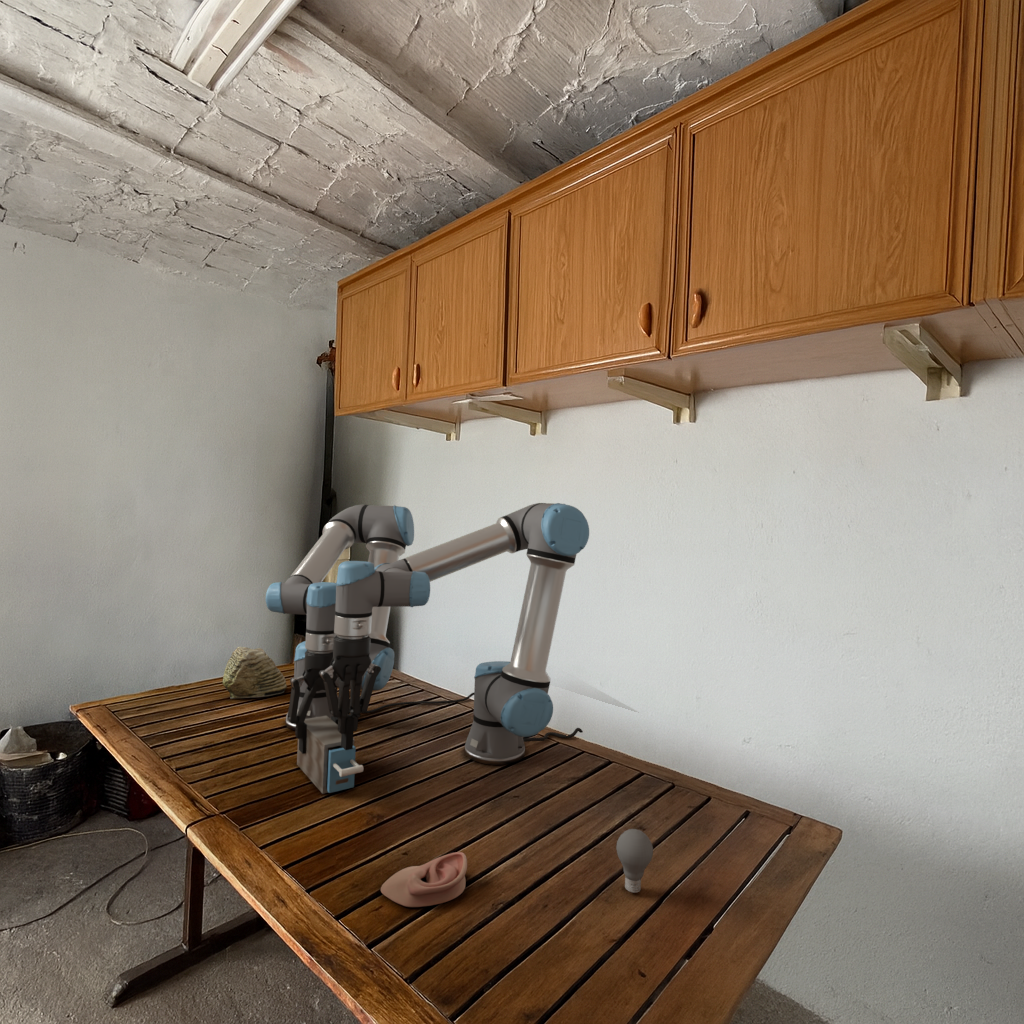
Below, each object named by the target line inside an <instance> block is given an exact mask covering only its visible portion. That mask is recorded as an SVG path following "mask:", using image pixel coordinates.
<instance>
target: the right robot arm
mask: <svg viewBox="0 0 1024 1024" xmlns="http://www.w3.org/2000/svg"><path fill="white" fill-rule="evenodd" d="M589 539H590V525H589V521H588V519H587V518H586V516H585V514H584V513H583V512H582V511H581V510H580V509H579V508H577V507H576V506H573V505H571V504H566V503H559V502H557V503H547V502H536V503H532V504H529V505H527V506H525V507H522V508H520V509H517V510H515V511H513V512H511V513H508V514H506V515H503V516H500V517H498V518H497V520H496V523H493V524H491V525H488V526H485V527H483V528H480V529H478V530H475V531H472V532H469V533H466V534H464V535H462V536H460V537H457V538H454V539H451V540H449V541H446V542H444V543H440V544H438V545H435V546H433V547H430V548H428V549H425V550H422V551H420V552H417V553H415V554H412V555H409V556H406V557H404V558H402V559H401V558H400V559H398V561H395V562H393V563H383V564H380V565H378V566H376V567H375V568H374V564H373V563H372V562H368V561H366V560H365V561H364V560H345V561H342V562H340V564H339V565H338V567H337V577H336V581H335V583H336V608H335V624H334V633H335V634H336V636H335V637H334V644H333V659H332V661H331V663H330V666H329V667H328V668H327V669H325V670H321V671H320V672H319V675H320V676H321V678H322V679H323V681H324V686H325V691H326V696H327V702H328V707H329V712H330V713H331V714H332V715H333V716H334V717H338V732H339V733H341V746H342V747H343V748H344V749H345V750H350V749H353V738H354V732H357V731H358V727H359V726H358V725H359V718H361V715H362V714H361V713H363V712H364V713H365V712H367V711H369V710H368V709H369V705H370V701H371V698H372V694H373V691H374V690H373V687H374V684H375V680H376V677H377V676H378V674H379V672H380V671H381V668H380V667H379V666H377V665H376V664H373V663H371V659H370V656H369V654H370V642H371V638H370V636H368V635H369V634H370V633H371V622H372V608H373V607H390V608H391V607H394V608H396V607H397V608H399V607H401V608H402V607H403V608H404V607H410V608H413V607H423V606H426V605H427V604H428V602H429V601H430V596H431V582H433V581H436V580H438V579H441V578H443V577H446V576H449V575H451V574H453V573H456V572H458V571H461V570H464V569H466V568H469V567H470V566H474V565H476V564H479V563H481V562H484V561H487V560H489V559H491V558H494V557H496V556H497V557H498V556H499V555H501V554H504V553H506V552H507V553H509V554H515V553H518V552H520V551H525V550H526V553H525V554H526V557H527V559H528V560H529V562H530V566H529V571H528V576H527V581H526V586H525V590H524V595H523V600H522V605H521V609H520V614H519V618H518V623H517V629H516V632H515V634H516V635H515V637H514V642H513V648H512V653H511V658H510V661H506V660H496V661H495V660H494V661H485V662H481V663H479V664H477V665H476V667H475V673H474V677H473V678H474V688H473V689H474V690H473V691H474V692H473V693H474V695H473V719H472V724H471V726H470V730H469V732H468V735H467V737H466V740H465V743H464V754H465V756H466V757H467V758H468V759H469V760H471V761H474V762H477V763H479V764H485V765H490V766H491V765H493V766H500V765H501V766H503V765H510V764H514V763H517V762H519V761H521V760H522V759H523V758H525V755H526V745H525V743H529V742H544V741H546V740H547V739H548V738H549V737H551V736H552V737H557V738H560V739H573V738H574V737H575V736H576V735H577V734H578V733H579V734H580V733H583V730H582V729H581V728H580V727H576V728H575V729H574V730H573V732H571V733H570V734H563V733H559V732H553V731H548V732H546V733H545V734H544V736H542V737H533V736H536V735H538V734H539V733H540V732H541V731H543V730H544V729H545V728H547V727H548V725H549V723H550V722H551V720H552V717H553V713H554V704H553V701H552V698H551V696H550V694H549V690H550V686H551V677H550V675H549V674H548V672H547V667H548V662H549V658H550V657H549V656H550V652H551V647H552V642H553V639H554V638H553V637H554V632H555V628H556V623H557V619H558V614H559V609H560V604H561V599H562V594H563V589H564V584H565V580H566V575H567V572H568V570H569V569H570V568H572V567H573V566H575V564H576V558H577V555H578V554H579V553H581V551H582V550H584V549H585V548H586V546H587V544H588V542H589ZM366 670H367V675H366V678H365V681H364V685H363V689H362V690H361V684H362V676H363V675H364V673H365V672H366ZM333 671H334V672H335V674H336V675H337V676H338V678H339V680H338V681H339V688H338V704H337V699H336V693H335V688H334V683H333V680H332V678H333ZM350 681H351V689H349V686H350ZM349 693H350V710H349V711H350V714H348V697H349ZM566 735H568V736H566Z"/></svg>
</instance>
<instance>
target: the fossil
mask: <svg viewBox="0 0 1024 1024" xmlns="http://www.w3.org/2000/svg"><path fill="white" fill-rule="evenodd" d="M222 676H223V677H222V685H223V687H224V688H225V690H226V691H228V693H229V698H230V699H250V698H264V697H271V696H275V695H281V694H284V693H285V691H286V689H287V687H288V686H287V680H286V678H285V676H284V674H283V673H282V672H281V669H279V668H278V667H277V665H276V663H275V662H274V660H273V659H272V658H271V657H270V656H269V655H268V654H267V653H266V652H265V650H264V649H263V648H260V647H258V648H251V647H247V646H246V647H245V646H238V647H237V648H236V649H235V650H233V651H232V653H231V656H230V657H229V659H228V660H227V663H226V666H225V668H224V671H223V675H222Z"/></svg>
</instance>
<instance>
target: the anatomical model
mask: <svg viewBox="0 0 1024 1024" xmlns="http://www.w3.org/2000/svg"><path fill="white" fill-rule="evenodd" d="M467 870H468V858H467V856H466V853H464V852H462V851H457V852H456V851H455V852H450V853H448V854H444V855H441V856H439V857H436V858H434V859H432V860H430V861H428V862H426V863H424V864H421V865H411V866H408V867H405V868H402V869H400V870H399V871H396V872H395V873H394V874H392V875H391V876H390V877H389V878H388V879H387V880H386V881H385V882H383V884H382V885H381V886H380V893H381V894H382V895H383V896H384V897H386V898H388V899H389V900H391V901H392V902H394V903H396V904H398V905H400V906H403V907H407V908H422V907H430V906H435V905H440V904H443V903H446V902H449V901H452V900H454V899H456V898H458V897H459V896H460V895H461V894H463V892H464V891H465V889H466V882H467V880H466V874H467Z"/></svg>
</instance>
